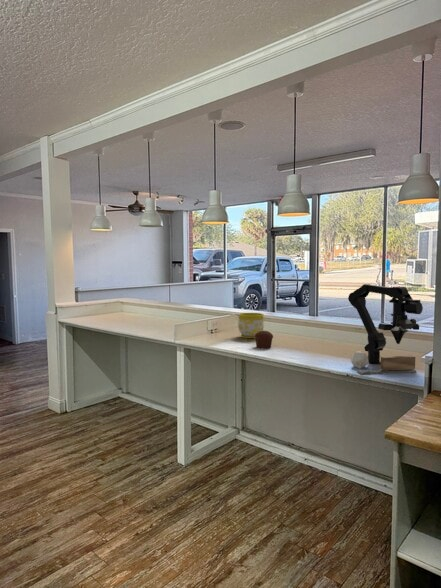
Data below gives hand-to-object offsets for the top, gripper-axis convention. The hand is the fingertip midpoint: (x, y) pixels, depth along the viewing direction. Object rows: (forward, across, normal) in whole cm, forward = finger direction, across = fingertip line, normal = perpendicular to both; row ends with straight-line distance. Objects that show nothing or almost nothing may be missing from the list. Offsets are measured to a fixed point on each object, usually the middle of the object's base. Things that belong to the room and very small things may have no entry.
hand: (398, 343), depth 203 cm
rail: (+12, -10, -7) cm, 17 cm away
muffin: (+12, -52, +60) cm, 80 cm away
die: (+12, -18, +4) cm, 22 cm away
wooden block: (+11, -4, -7) cm, 13 cm away
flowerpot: (+12, -52, +95) cm, 109 cm away
